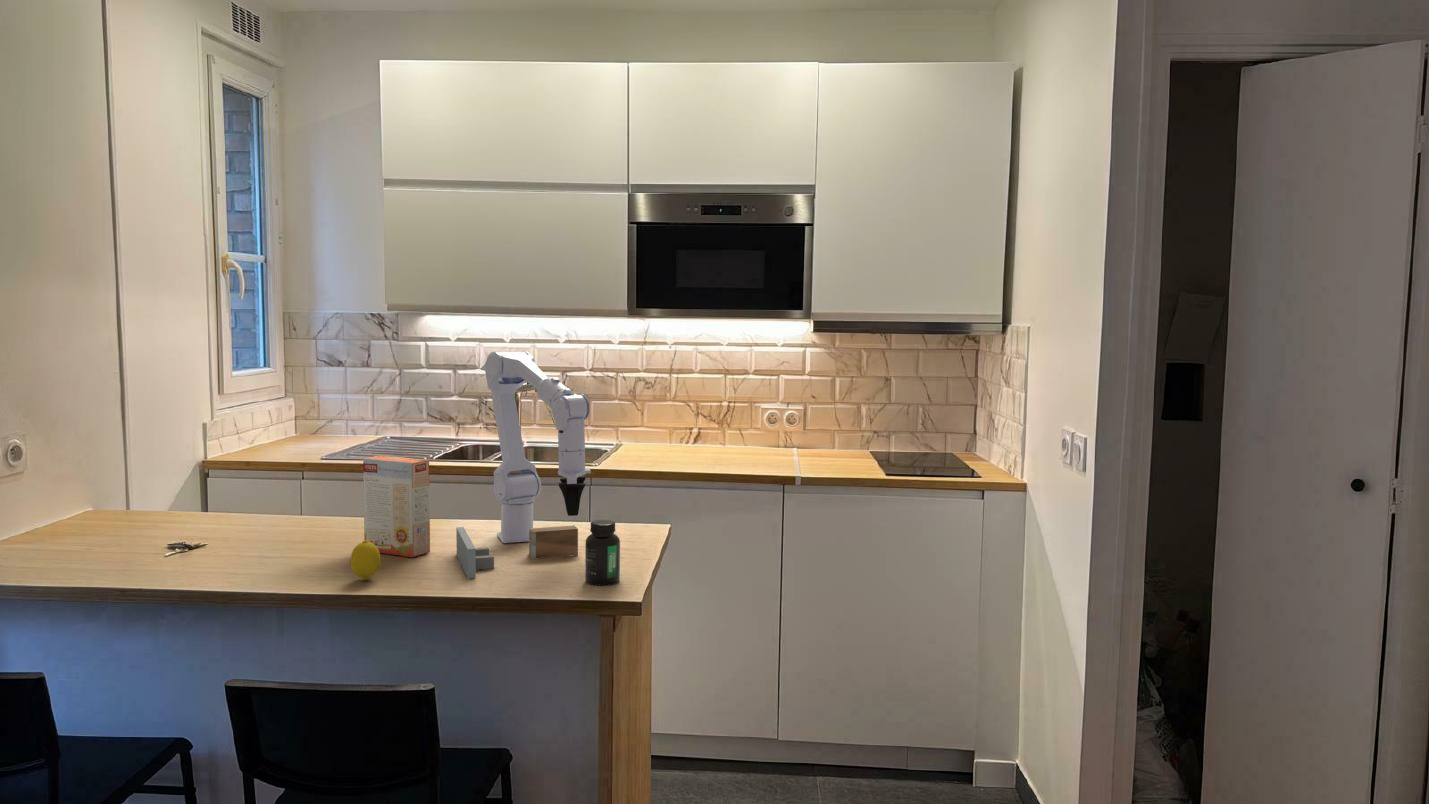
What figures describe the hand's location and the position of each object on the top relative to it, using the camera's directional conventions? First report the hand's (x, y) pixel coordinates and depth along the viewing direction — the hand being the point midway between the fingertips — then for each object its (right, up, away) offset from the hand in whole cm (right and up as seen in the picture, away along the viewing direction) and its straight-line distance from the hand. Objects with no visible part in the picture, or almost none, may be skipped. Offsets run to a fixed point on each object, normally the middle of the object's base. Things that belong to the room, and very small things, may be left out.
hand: (573, 512), depth 205 cm
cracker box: (-39, -9, +2) cm, 40 cm away
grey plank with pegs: (-18, -10, -6) cm, 22 cm away
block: (-5, -10, +2) cm, 11 cm away
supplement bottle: (+8, -12, -17) cm, 23 cm away
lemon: (-38, -11, -20) cm, 44 cm away
